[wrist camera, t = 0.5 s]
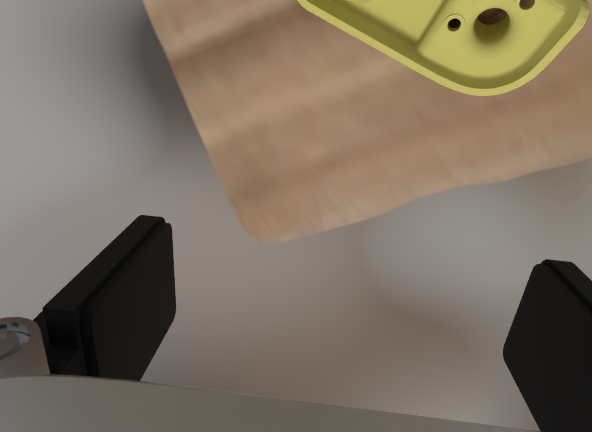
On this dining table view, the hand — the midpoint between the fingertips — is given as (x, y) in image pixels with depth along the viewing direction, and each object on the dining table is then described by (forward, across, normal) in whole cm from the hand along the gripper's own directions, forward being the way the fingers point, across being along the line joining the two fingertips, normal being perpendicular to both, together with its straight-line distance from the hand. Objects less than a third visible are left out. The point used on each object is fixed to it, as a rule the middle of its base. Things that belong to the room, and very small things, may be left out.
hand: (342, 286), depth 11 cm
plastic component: (+30, -6, -10) cm, 32 cm away
